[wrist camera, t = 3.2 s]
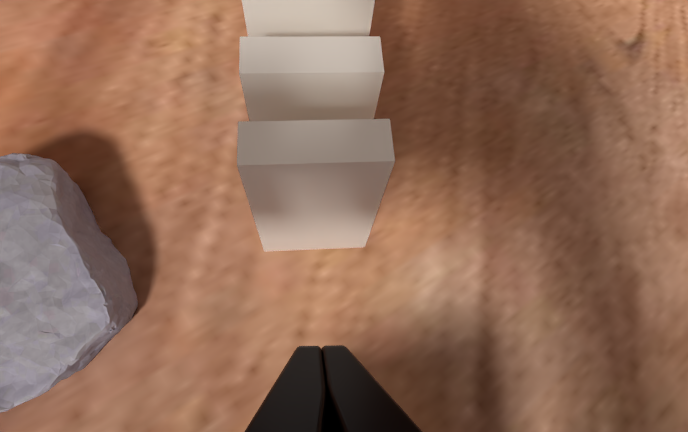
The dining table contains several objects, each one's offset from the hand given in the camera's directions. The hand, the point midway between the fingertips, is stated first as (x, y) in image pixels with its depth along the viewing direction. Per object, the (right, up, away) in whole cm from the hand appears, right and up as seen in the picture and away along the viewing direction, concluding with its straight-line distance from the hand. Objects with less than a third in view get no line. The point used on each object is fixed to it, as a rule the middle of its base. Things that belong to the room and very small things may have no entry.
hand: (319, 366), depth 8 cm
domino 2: (-1, +5, +16) cm, 17 cm away
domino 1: (-1, +2, +15) cm, 15 cm away
